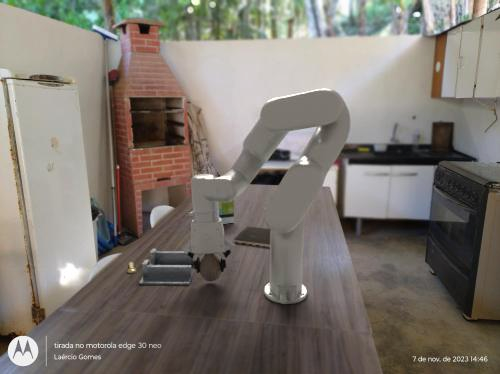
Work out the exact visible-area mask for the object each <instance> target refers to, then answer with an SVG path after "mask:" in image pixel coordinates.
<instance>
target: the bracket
mask: <svg viewBox="0 0 500 374" xmlns="http://www.w3.org/2000/svg"><path fill="white" fill-rule="evenodd" d="M191 264H193V265H194V261H193V259H192V258H191V257H189V256H188V254H187V253H185V252H184V251H183V250H177V251H175V250H173V251H172V250H170V251H169V250H167V251H165V250H161V251H160V250H158V249H157V248H152V249H151V250H150V252H149V259H144V260H143V262H142V263H141V269H142V270H141V271H142V278H141V279H140V281H139V282H138V283H139V284H138V285H143V286H144V285H145V286H147V285H148V286H149V285H152V286H153V285H154V286H156V285H157V286H160V285H161V286H164V285H165V286H169V285H170V286H171V285H172V286H185V285H186V286H189V285H190V283H191V281H192V278H193V270H192V265H191Z"/></svg>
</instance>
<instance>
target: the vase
mask: <svg viewBox="0 0 500 374" xmlns="http://www.w3.org/2000/svg"><path fill="white" fill-rule="evenodd" d="M220 260H221V259H220V258H219V257H218V256H217V255H216V254H203V257H202V258H201V259H200V265H199V270H200V272H199V274H200V276H201V278H202V279H203V280H204V281H206V282H215V281H218V279H219V278H220V276H221V275H222V272H221V263H220Z"/></svg>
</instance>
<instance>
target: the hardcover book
mask: <svg viewBox="0 0 500 374" xmlns="http://www.w3.org/2000/svg"><path fill="white" fill-rule="evenodd" d="M233 240H234V243H235V242H238V243H237V244H242V243H246V244H245V245H249V244H252V245H251V246H256V245H259V246H258V247H263V246H265V248H270V229H269V228H265V227H258V226H257V227H256V226H250V225H249V226H246V227H245V228H244V229H242V231H240V233H238V234H237V235H236V236H235V237H234V238H233Z"/></svg>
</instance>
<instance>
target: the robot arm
mask: <svg viewBox="0 0 500 374" xmlns="http://www.w3.org/2000/svg"><path fill="white" fill-rule="evenodd" d="M259 116H260V117H259V119H258V120H257V122H255V125H254V126H253V127H252V128H251V130H250V131H249V133H248V134H247V135H246V137H245V138H244V140H243V142H242V151H241V153H240V154H239V156H238V158H237V159H236V161H235V162H234V164H233V165H232V166H231V168H230V169H229V170H228V171H227V172H226V173H224V174H223V175H221V176H218V177H216V176H215V175H214V174H211V173H199V174H195V175H193V176H192V177H191V179H190V189H191V202H192V211H191V212H188V217H189V218H192V221H191V223H190V240H189V241H188V242H187V243H186V244H185V245H184V246H183V247H182V251H184V252H185V253H187V254H188V256H189V257H191V258H192V259H193V261H194V264H193V265H194V270H196V274H200V270H199V265H200V262H201V258H200V256H199V255H205V254H215V255H216V254H218V255H219V256H220V259H219V260H220V263H221V273H224V272H225V269H226V268H227V260H226V259H227V257H229V256H230V255H231V253H232V252H233V250H235V248H236V244H235V243H233V242H232V241H231V240H229V239H228V238H226V236H225V235H226V234H225V230H224V228H225V227H224V225H223V223H222V220H221V218H219V209H218V202H223V203H228V202H231V201H233V200H234V201H235V200H236V199H237V198H238V197H239V196H240V195H242V193H243V192H245V190H246V189H247V188H248V186H249V185H250V184H251V183H252V181H253V180H254V179H255V178H256V176H257V175H258V174H259V172H260V171H261V169H262V168H263V167H264V165H265V164H266V163H267V162H268V160H270V158H271V156H272V155H273V154H274V152H275V151H276V150H277V148H278V147H279V146H280V144H281V143H282V141H283V140H284V139H285V138H286V136H288V134H289V133H290V132H294V131H299V130H305V129H306V130H307V129H310V128H311V129H312V128H315V130H314V133H313V134H312V136H311V138H310V139H309V140H308V142H307V144H306V146H305V148H304V150H303V151H302V152H301V154H300V155H299V157H298V158H297V159H296V161H294V162H293V164H292V165H291V166H290V167H289V168H288V170H286V172H285V174H284V176H283V177H282V179H281V181H280V183H279V184H278V186H277V187H276V189H275V190H274V192H273V194H272V195H271V197H270V199H269V201H268V202H267V204H266V206H265V207H264V210H263V220H264V223H265V225H266V227H267V229H270V247H269V282H268V283H267V284H266V285H265V286H264V288H263V290H264V291H263V293H264V295H265V297H266V298H267V299H268V300H270V301H272V302H274V303H278V304H282V305H290V304H296V303H300V302H302V301H303V300H305V299H306V298H307V295H308V290H307V289H308V288H307V287H306V286H305V285H304V284H303V268H304V267H303V265H304V264H303V263H304V262H303V260H304V259H303V258H304V241H305V238H304V235H305V219H306V214H307V212H308V211H309V209H310V208H311V206H312V205H313V204H314V202H315V200H317V199H316V198H317V197H318V196H319V194H320V192H321V190H322V188H323V186H324V184H325V180H326V176H327V175H328V174H329V171H330V170H331V168H332V167H333V165H334V163H336V161H337V158H338V157H339V155H340V154H341V153H342V151H343V148H344V146H345V144H346V143H347V140H348V137H349V134H350V131H351V115H350V111H349V108H348V106H347V104H346V102H345V101H344V99H343V97H342V95H340V93H339V92H337V90H334V89H332V88H320V89H313V90H310V91H305V92H299V93H296V94H290V95H285V96H279V97H273V98H271V99H269V100H267V101H266V102H265V103H264V104H263V105H262V107H261V110H260V113H259ZM226 246H227V247H228V248H227V249H226Z"/></svg>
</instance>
